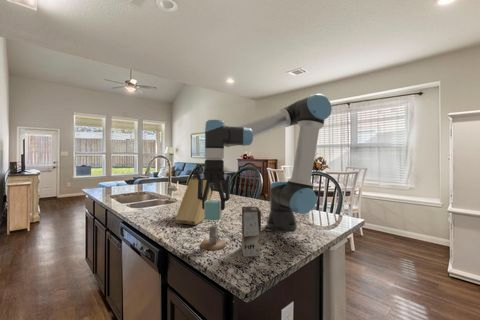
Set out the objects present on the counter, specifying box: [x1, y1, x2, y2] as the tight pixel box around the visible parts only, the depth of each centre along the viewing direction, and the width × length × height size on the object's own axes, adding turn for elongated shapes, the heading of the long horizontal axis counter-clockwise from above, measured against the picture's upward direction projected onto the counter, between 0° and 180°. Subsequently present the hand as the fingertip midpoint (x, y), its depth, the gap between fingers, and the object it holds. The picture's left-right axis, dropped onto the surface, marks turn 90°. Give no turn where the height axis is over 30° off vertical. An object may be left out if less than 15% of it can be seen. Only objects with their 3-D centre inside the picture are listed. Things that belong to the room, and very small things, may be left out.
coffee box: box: [241, 206, 262, 258], centre depth 86 cm, size 9×6×16 cm
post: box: [200, 225, 227, 251], centre depth 92 cm, size 10×10×8 cm
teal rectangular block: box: [204, 199, 221, 221], centre depth 92 cm, size 5×5×7 cm
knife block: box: [175, 163, 215, 226], centre depth 133 cm, size 11×35×31 cm, turn 170°
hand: (213, 217), depth 92 cm, fingers closed on teal rectangular block, 5 cm apart
